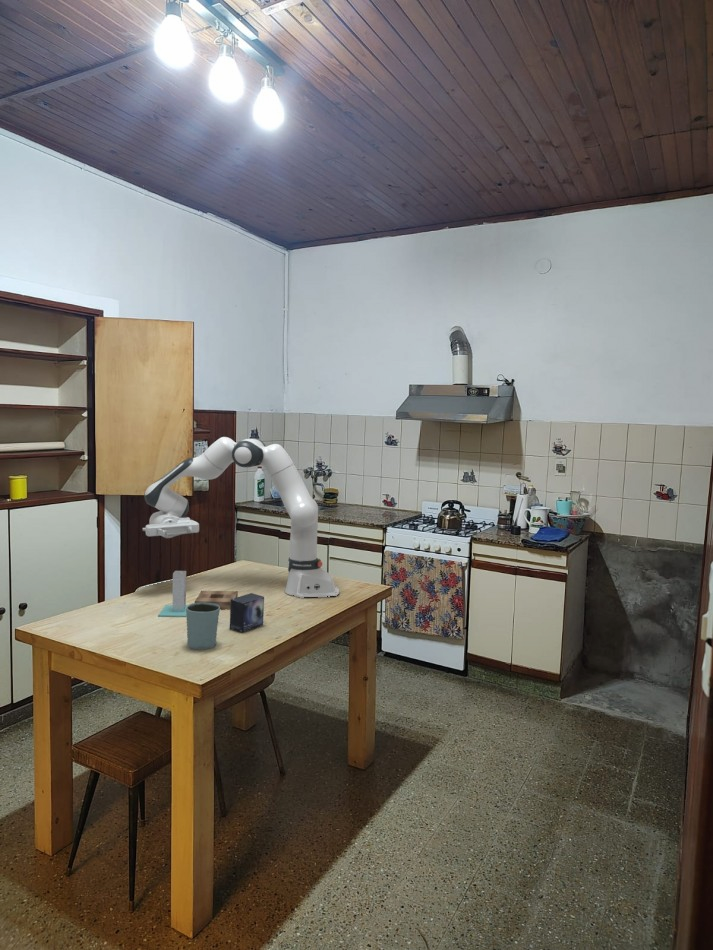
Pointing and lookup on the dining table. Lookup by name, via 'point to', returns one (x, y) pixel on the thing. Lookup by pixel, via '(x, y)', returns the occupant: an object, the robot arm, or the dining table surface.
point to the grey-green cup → (202, 625)
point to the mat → (168, 612)
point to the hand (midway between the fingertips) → (177, 532)
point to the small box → (246, 612)
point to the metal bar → (179, 591)
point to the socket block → (217, 598)
